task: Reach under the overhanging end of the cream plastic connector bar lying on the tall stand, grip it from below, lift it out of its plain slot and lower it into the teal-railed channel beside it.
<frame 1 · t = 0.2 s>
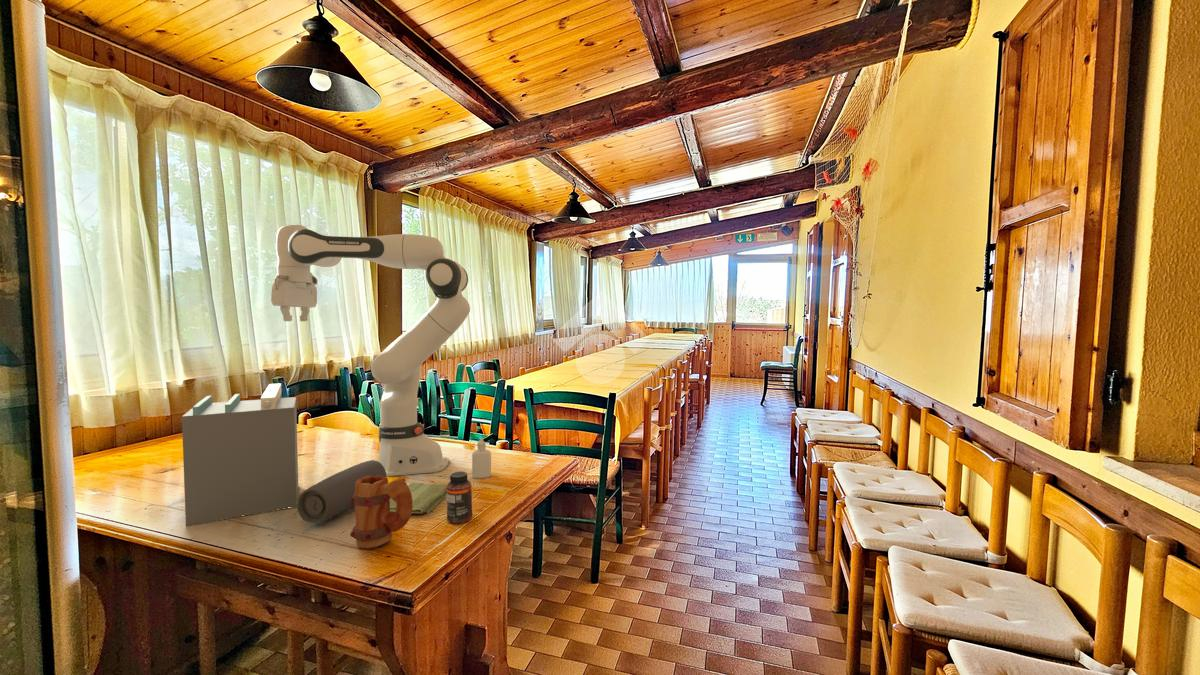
hand: (296, 321, 151), 48 cm above the table, tool pointing down, fingers open, 8 cm apart
stand: (248, 503, 126), on the table
bluetooth speaker: (346, 510, 123), on the table
connector bar: (272, 400, 132), point 26 cm above the table, touching stand
mug: (382, 546, 104), on the table
eye dropper bottle: (481, 477, 148), on the table
washcloth: (417, 504, 128), on the table
supplement bottle: (459, 520, 117), on the table
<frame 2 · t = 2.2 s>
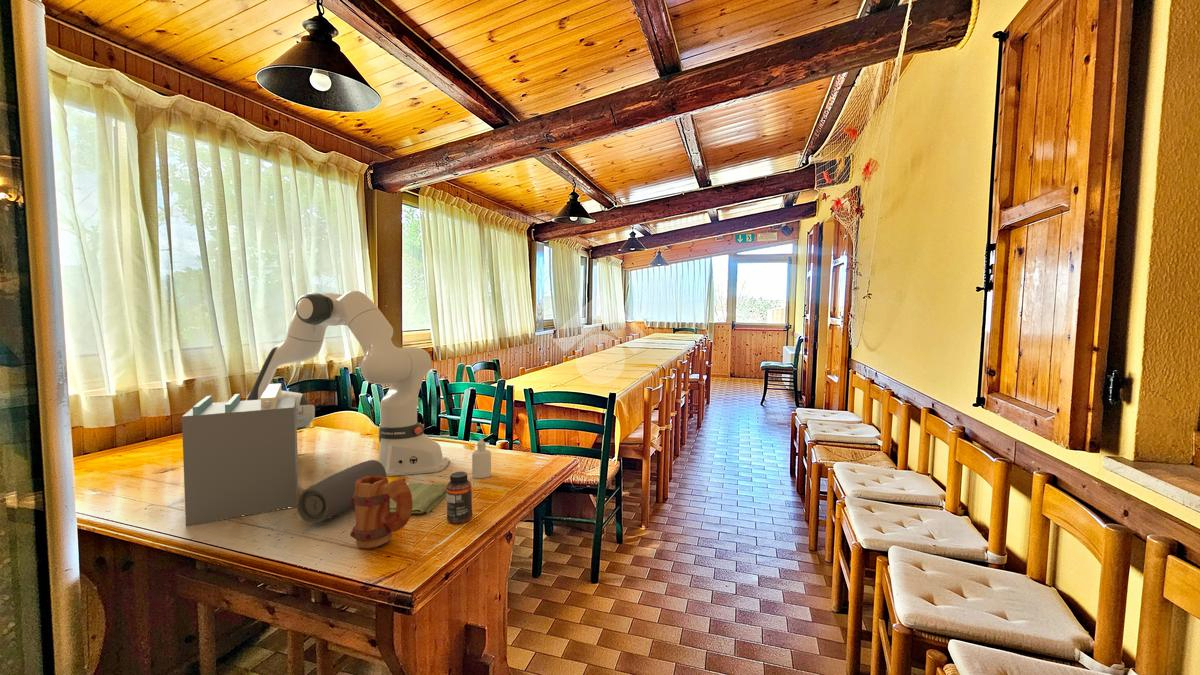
hand: (276, 406, 149), 21 cm above the table, tool pointing upward, fingers open, 8 cm apart
nothing on the table moved.
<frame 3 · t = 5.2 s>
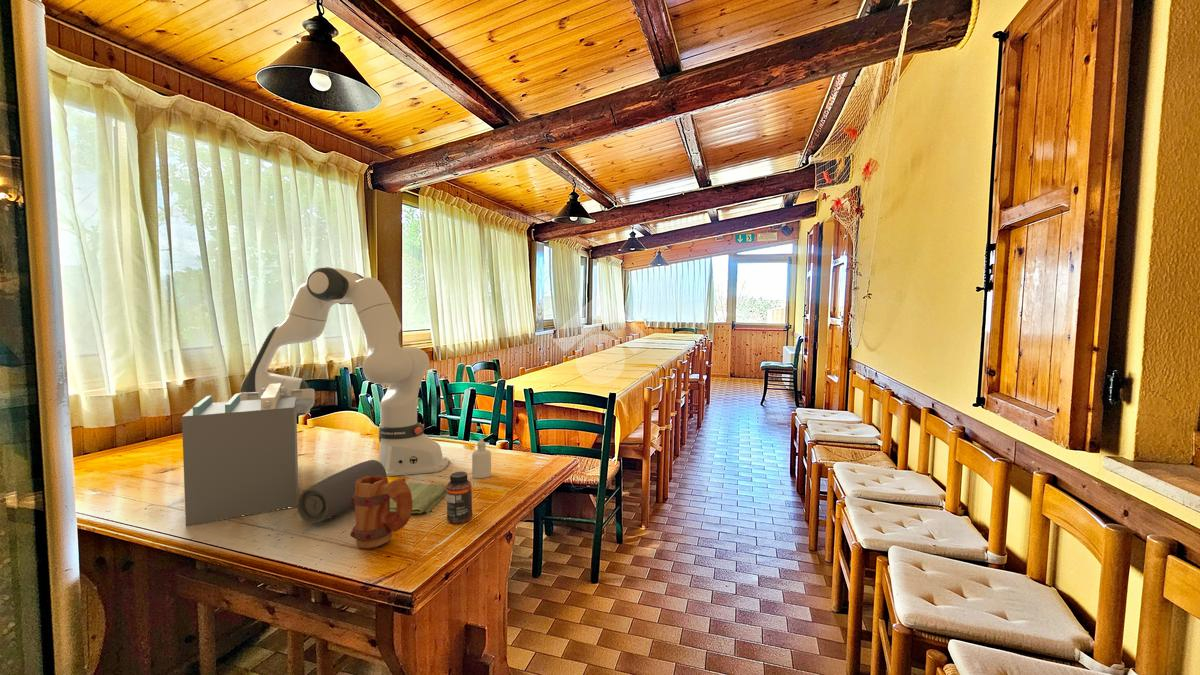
hand: (274, 389, 138), 28 cm above the table, tool pointing upward, fingers closed on connector bar, 3 cm apart
connector bar: (272, 400, 132), point 26 cm above the table, touching gripper, stand
everything else where it was.
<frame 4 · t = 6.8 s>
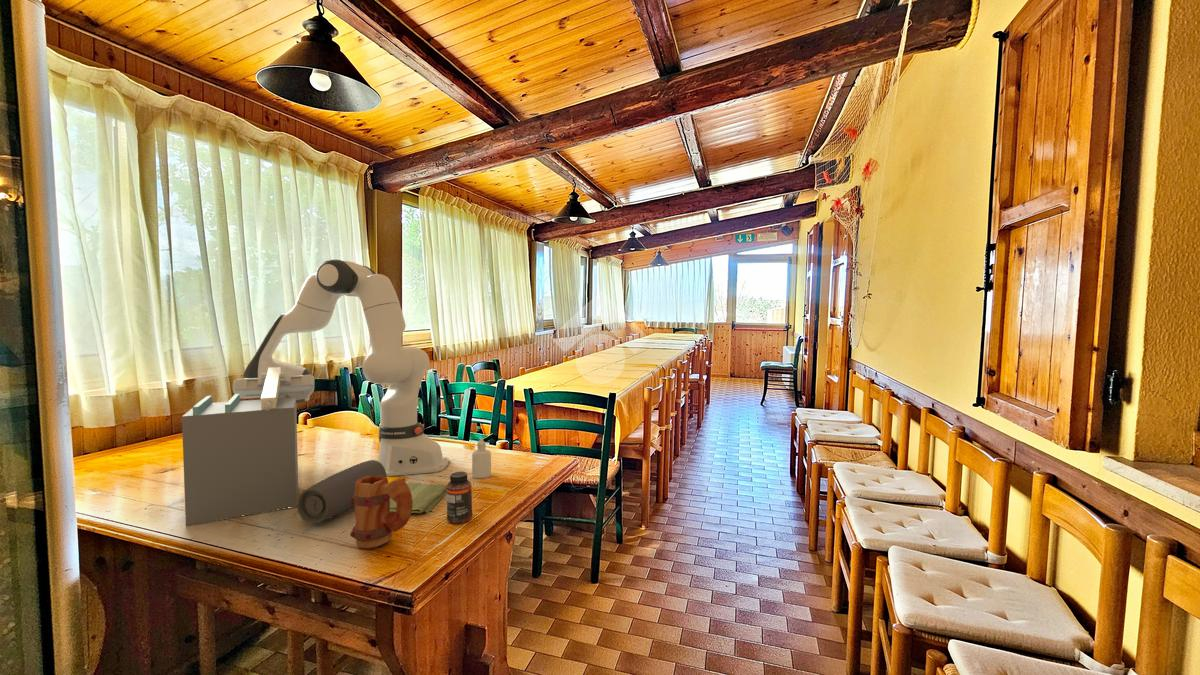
hand: (273, 375, 138), 32 cm above the table, tool pointing upward, fingers closed on connector bar, 3 cm apart
connector bar: (272, 391, 132), point 29 cm above the table, tilted 10°, touching gripper
everything else where it was.
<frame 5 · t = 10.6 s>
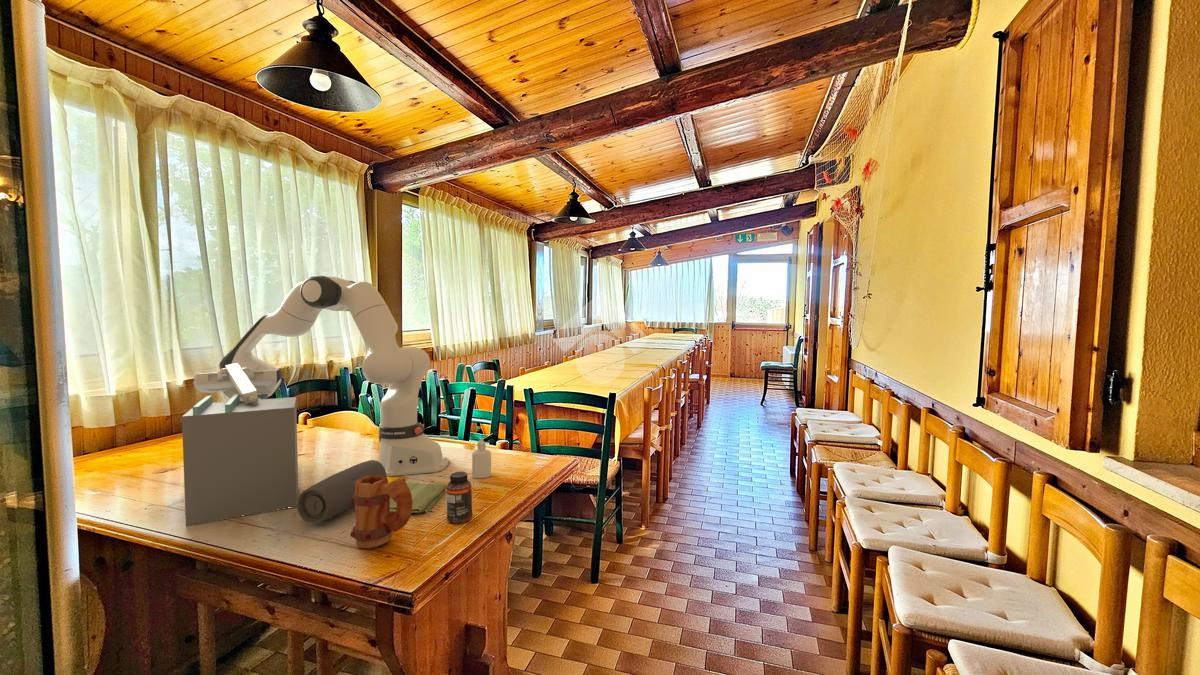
hand: (234, 370, 142), 33 cm above the table, tool pointing upward, fingers closed on connector bar, 4 cm apart
connector bar: (242, 386, 137), point 29 cm above the table, tilted 16°, touching gripper, stand
when the fingers open (29 cm above the table, at t = 14.4 s): connector bar stays where it is, resting on stand.
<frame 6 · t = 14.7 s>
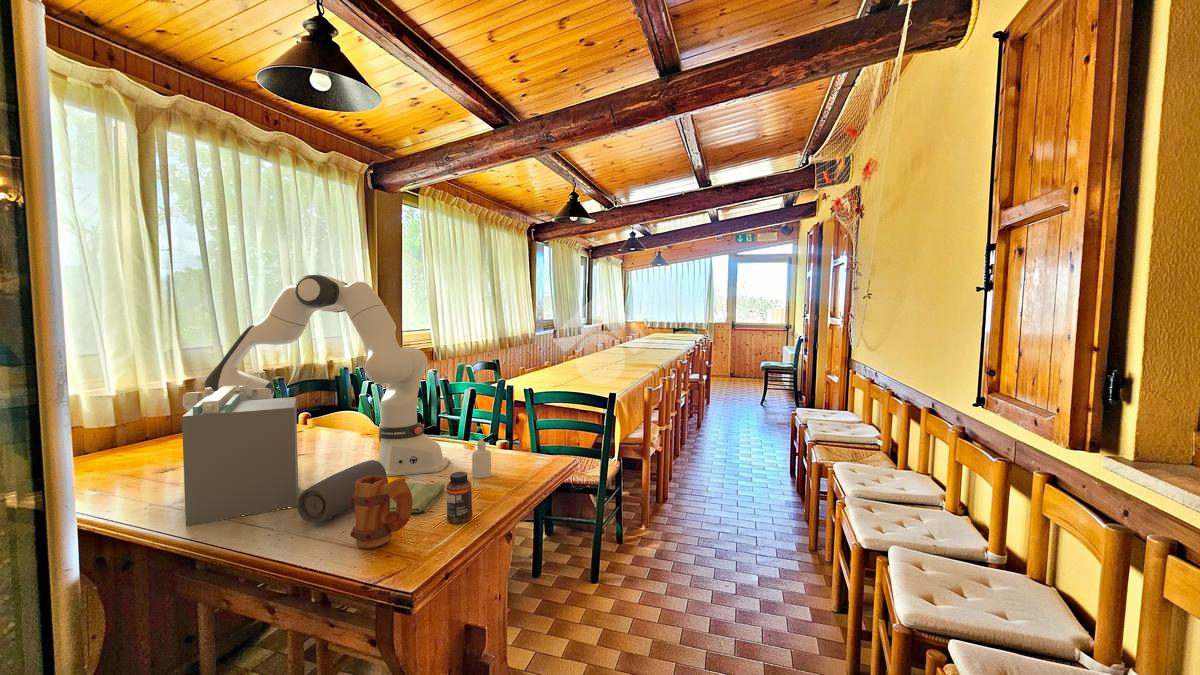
hand: (225, 389, 133), 29 cm above the table, tool pointing upward, fingers open, 6 cm apart
connector bar: (221, 403, 127), point 26 cm above the table, touching stand
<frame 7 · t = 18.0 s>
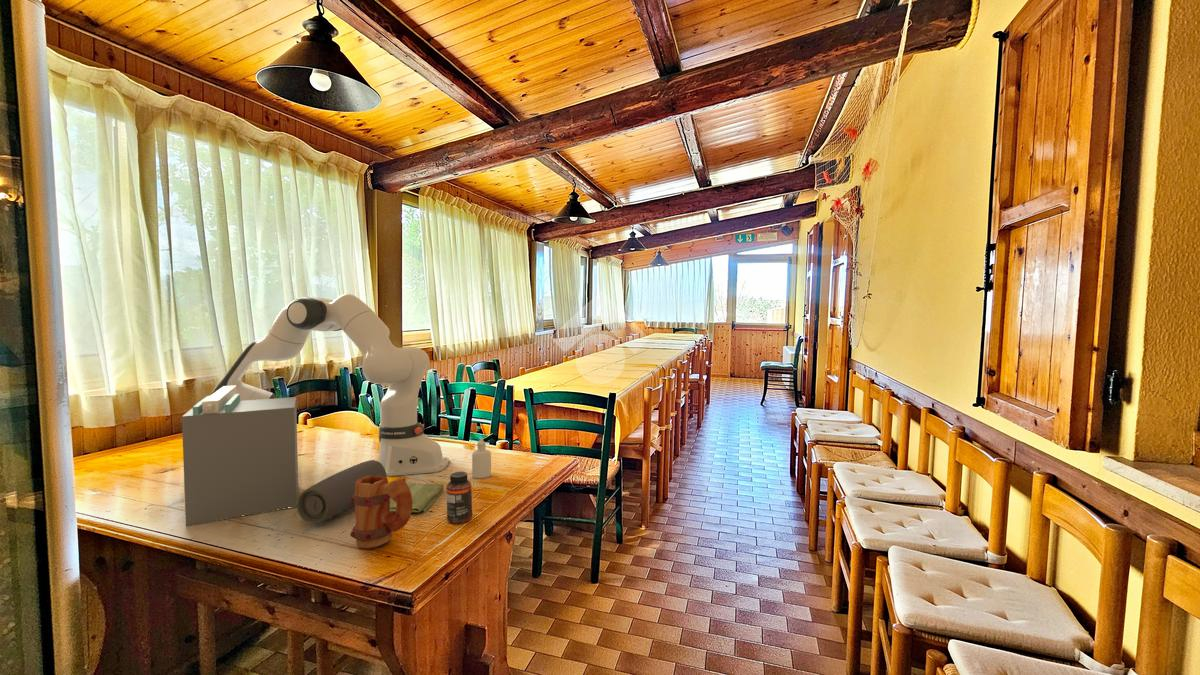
hand: (234, 409, 143), 21 cm above the table, tool pointing upward, fingers open, 8 cm apart
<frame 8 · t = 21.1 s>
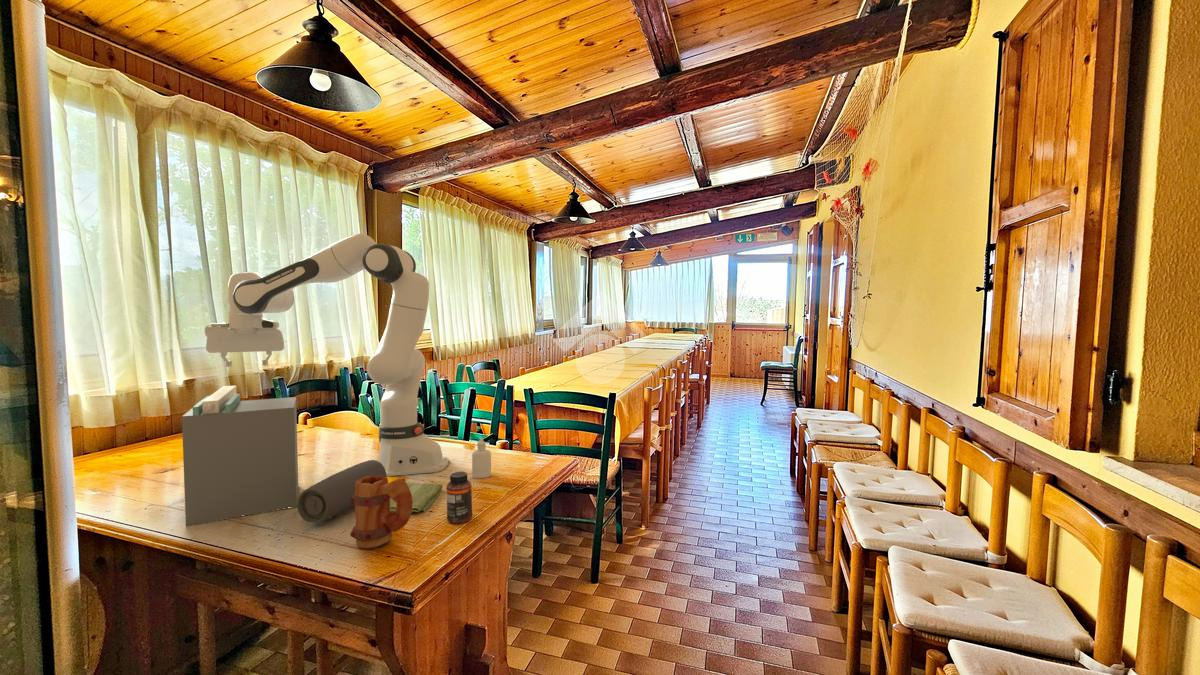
hand: (247, 366, 154), 33 cm above the table, tool pointing down, fingers open, 8 cm apart
at the end: connector bar 1.2 cm from the target spot on the stand, point 26.0 cm above the stand's base; connector bar tilted 0°; the gripper is holding nothing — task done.
